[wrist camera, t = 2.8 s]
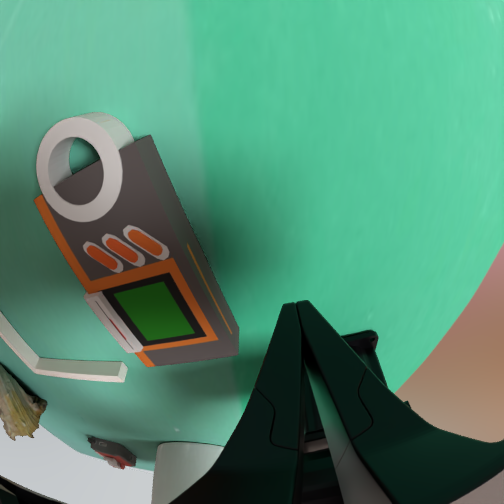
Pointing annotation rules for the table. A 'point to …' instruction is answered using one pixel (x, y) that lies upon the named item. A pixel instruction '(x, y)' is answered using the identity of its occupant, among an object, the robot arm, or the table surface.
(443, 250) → the table surface
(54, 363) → the docking bay
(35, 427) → the seashell
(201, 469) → the utensil holder
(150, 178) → the electronic device
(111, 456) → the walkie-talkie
